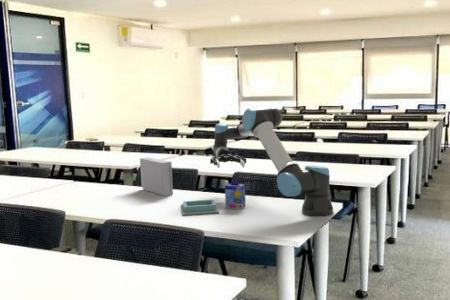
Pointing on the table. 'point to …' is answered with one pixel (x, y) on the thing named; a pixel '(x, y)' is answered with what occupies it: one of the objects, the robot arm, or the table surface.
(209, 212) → the cradle
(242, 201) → the ink cartridge box
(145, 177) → the game console
